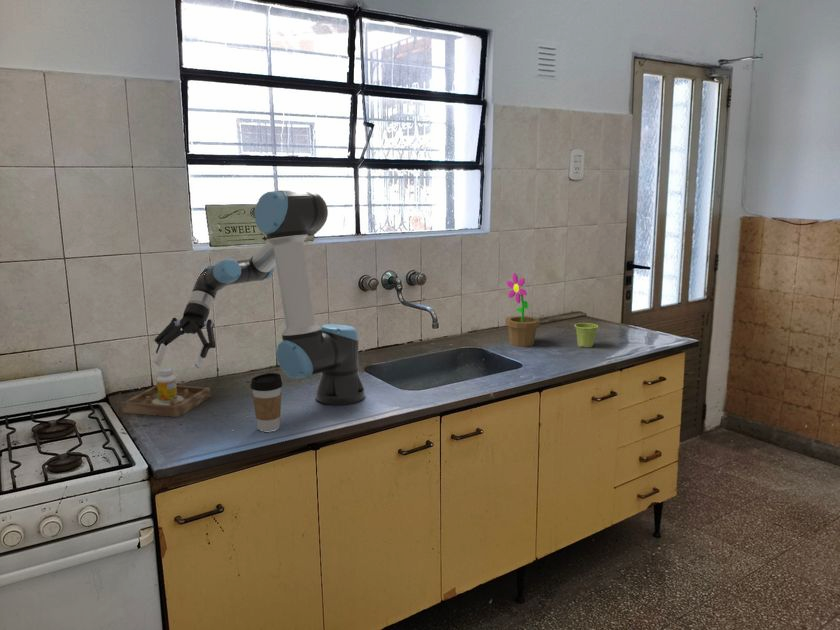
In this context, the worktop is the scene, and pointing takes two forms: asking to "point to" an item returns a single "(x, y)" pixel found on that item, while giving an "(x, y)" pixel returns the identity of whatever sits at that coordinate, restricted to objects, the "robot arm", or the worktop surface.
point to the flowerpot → (521, 318)
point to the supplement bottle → (166, 385)
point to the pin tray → (152, 406)
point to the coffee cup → (267, 400)
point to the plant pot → (585, 334)
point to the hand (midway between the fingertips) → (176, 365)
